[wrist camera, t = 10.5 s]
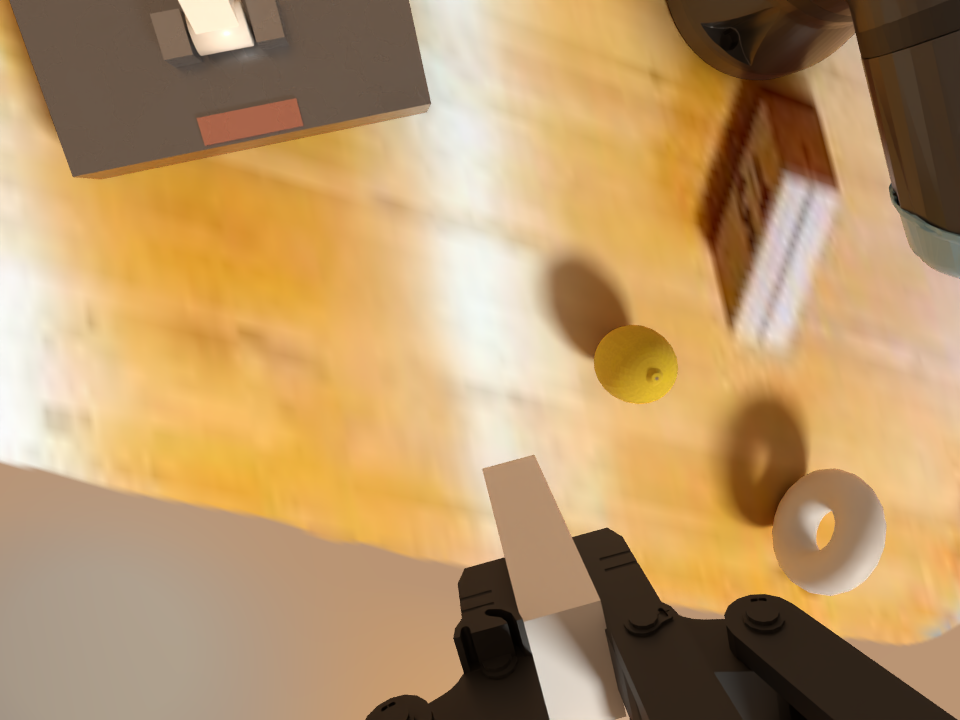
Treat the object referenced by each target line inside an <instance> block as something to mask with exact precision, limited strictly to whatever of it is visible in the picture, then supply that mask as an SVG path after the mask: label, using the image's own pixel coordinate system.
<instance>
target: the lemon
mask: <svg viewBox="0 0 960 720" xmlns="http://www.w3.org/2000/svg"><path fill="white" fill-rule="evenodd" d="M594 368H595V372H596V375H597V378H598V380H599V381H600V383H601V384H602V386H603V387H604V388H605V389H606V390H607V391H608V392H609V393H610V394H611V395H613V396H614V397H616V398H618V399H620V400H622V401H625V402H629V403H635V404H644V403H650V402H653V401H656V400H658V399H660V398H661V397H663V396H664V395H665V394H666V393H667V392H668V391H669V390H670V389H671V388H672V386H673V384H674V383H675V380H676V377H677V371H678V364H677V357H676V355H675V353H674V351H673V348H672V347H671V345H670V344H669V343H668V342H667V340H666V339H665V338H664V337H663V336H661V335H660V334H659V333H657V332H656V331H654V330H652V329H650V328H647V327H644V326H639V325H627V326H622V327H618V328H616V329H614V330H612V331H611V332H609V333H608V334H607V335H606V336H604V338H603V339H602V340H601V341H600V343H599V345H598V347H597V349H596V352H595V357H594Z"/></svg>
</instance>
